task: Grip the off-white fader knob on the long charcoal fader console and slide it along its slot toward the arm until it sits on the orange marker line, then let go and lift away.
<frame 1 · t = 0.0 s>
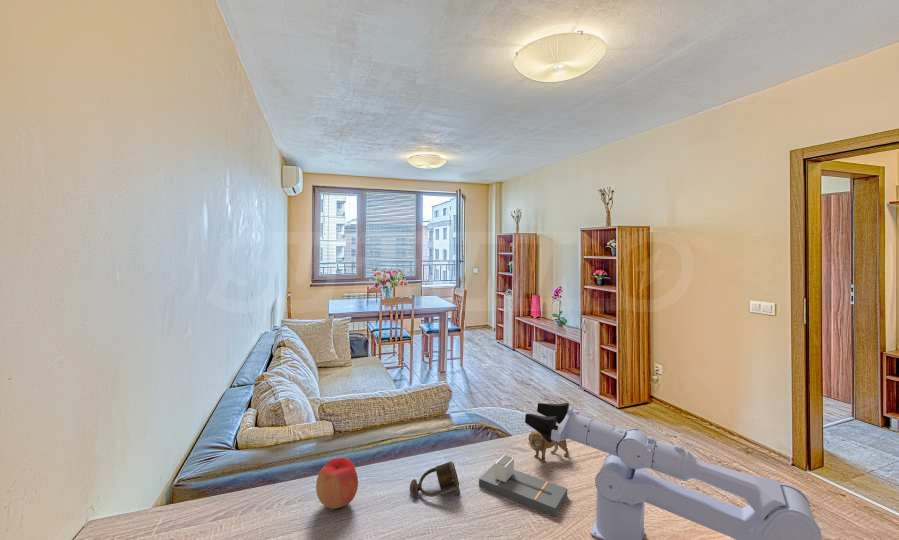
hand: (532, 412, 93), 22 cm above the table, fingers open, 7 cm apart
fader knob: (504, 467, 100), point 4 cm above the table, slide at 5.0 cm
fader console: (522, 491, 97), on the table
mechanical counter: (436, 491, 97), on the table
lion figurine: (548, 458, 113), on the table
apple: (337, 505, 91), on the table
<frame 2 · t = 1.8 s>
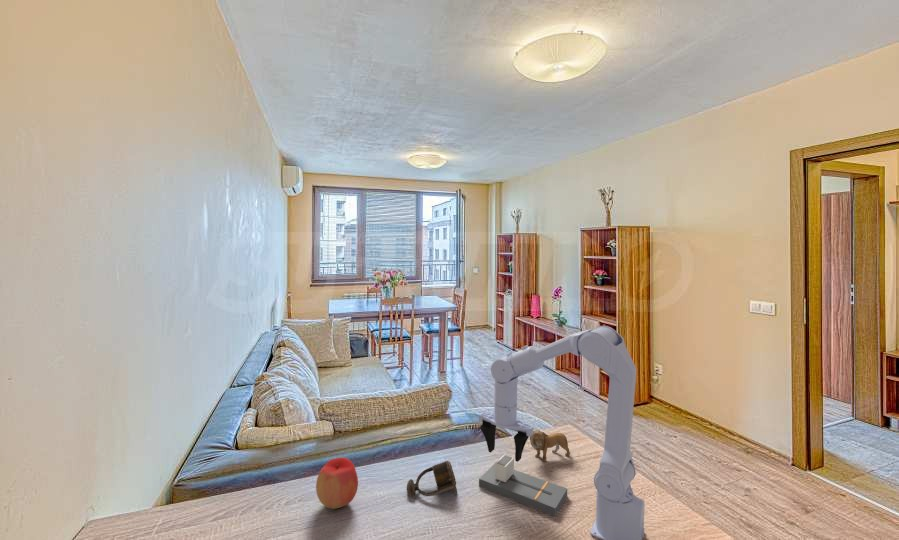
hand: (504, 455, 100), 8 cm above the table, fingers open, 7 cm apart
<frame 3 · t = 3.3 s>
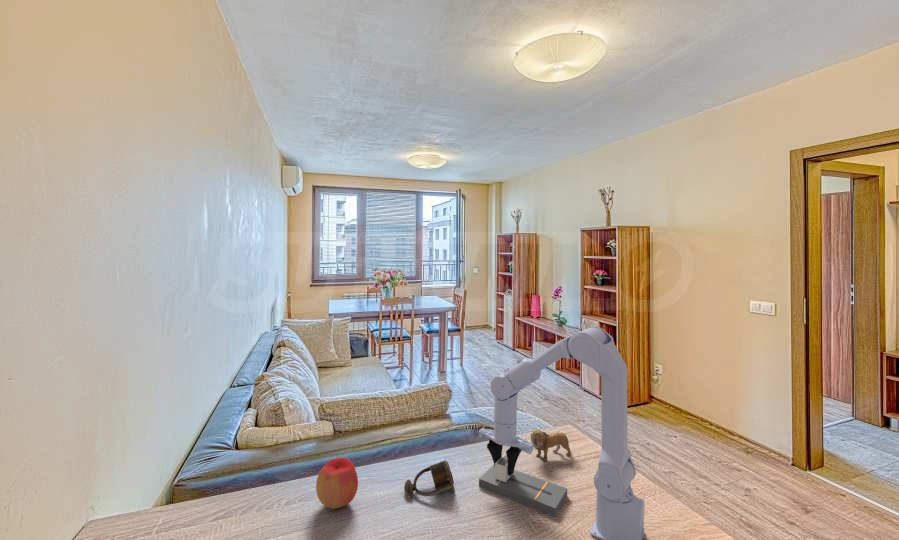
hand: (504, 471, 100), 3 cm above the table, fingers closed on fader knob, 3 cm apart
fader knob: (504, 467, 100), point 4 cm above the table, slide at 5.0 cm, touching gripper
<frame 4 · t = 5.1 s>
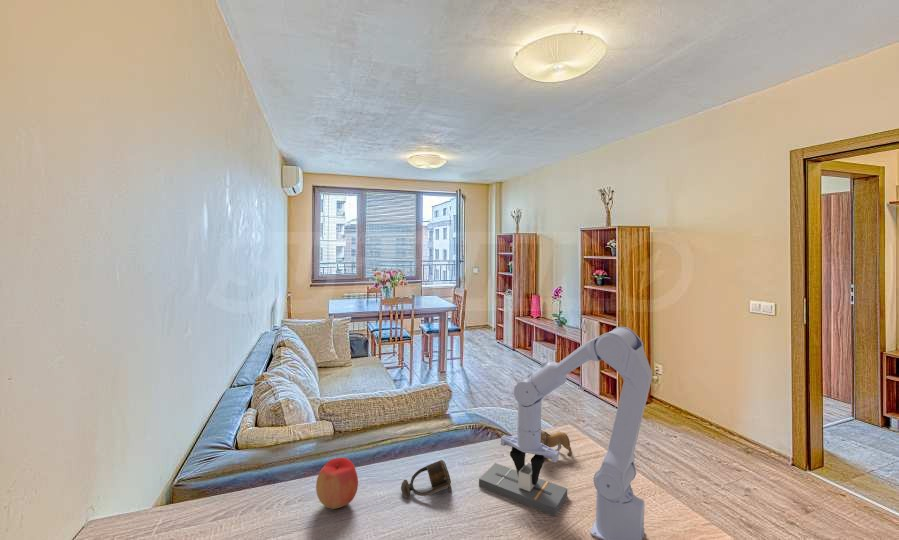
hand: (528, 480, 96), 3 cm above the table, fingers closed on fader knob, 3 cm apart
fader knob: (528, 476, 96), point 4 cm above the table, slide at -1.5 cm, touching gripper
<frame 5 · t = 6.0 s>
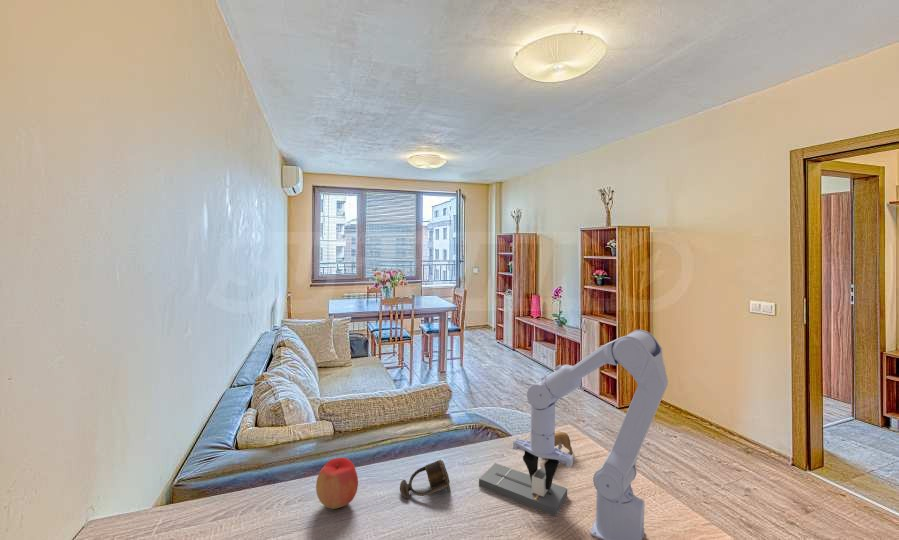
hand: (541, 484, 94), 3 cm above the table, fingers closed on fader knob, 3 cm apart
fader knob: (541, 480, 94), point 4 cm above the table, slide at -4.9 cm, touching gripper
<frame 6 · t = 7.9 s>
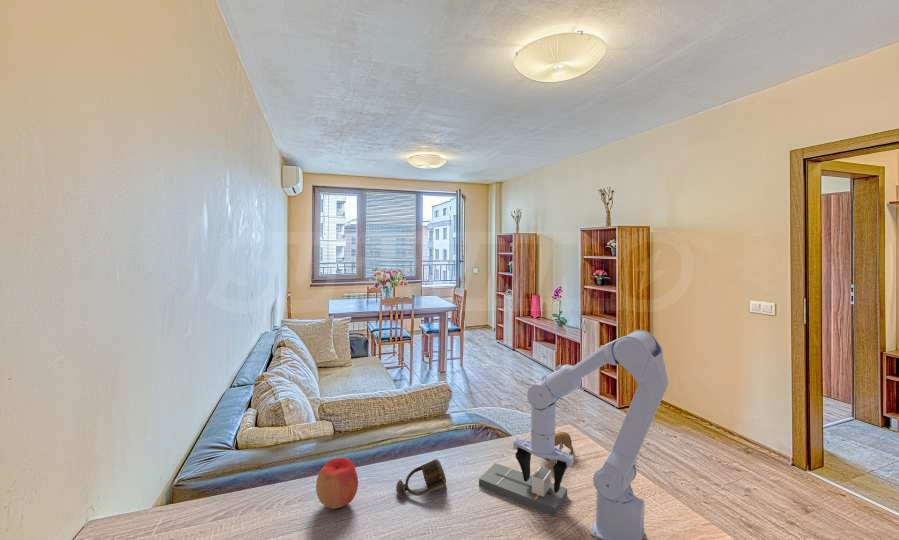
hand: (541, 484, 94), 3 cm above the table, fingers open, 7 cm apart
fader knob: (541, 481, 94), point 4 cm above the table, slide at -5.0 cm
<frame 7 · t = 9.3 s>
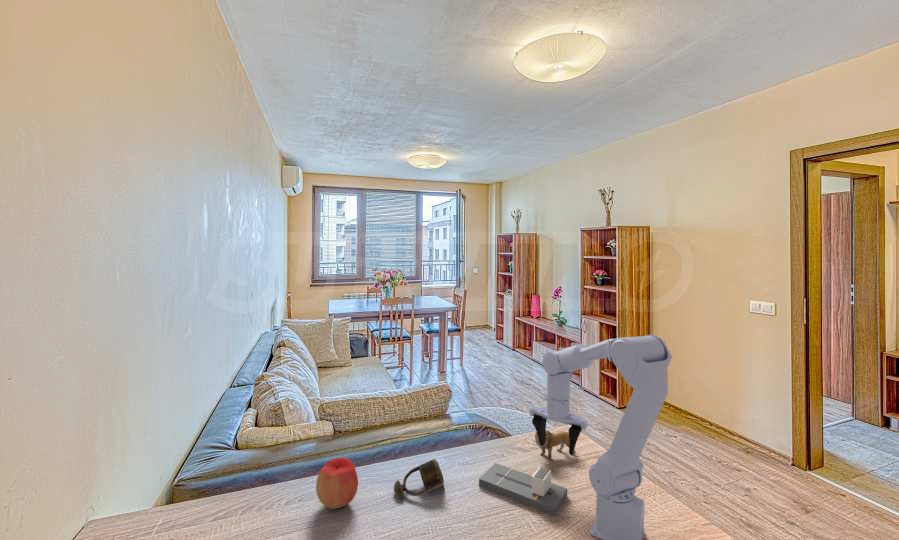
hand: (556, 448, 100), 9 cm above the table, fingers open, 7 cm apart
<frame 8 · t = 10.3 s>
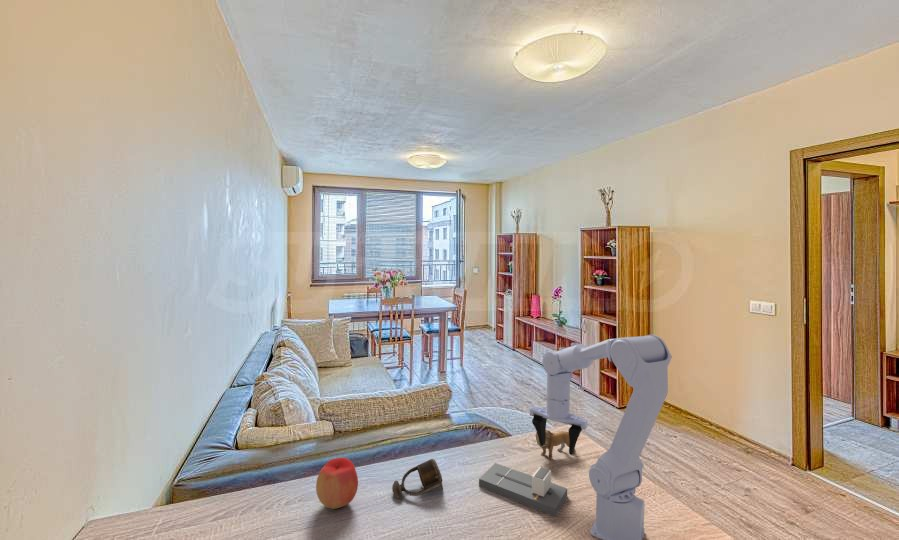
hand: (556, 448, 100), 9 cm above the table, fingers open, 7 cm apart
at the end: fader knob slide at -5.0 cm; the gripper is holding nothing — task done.
